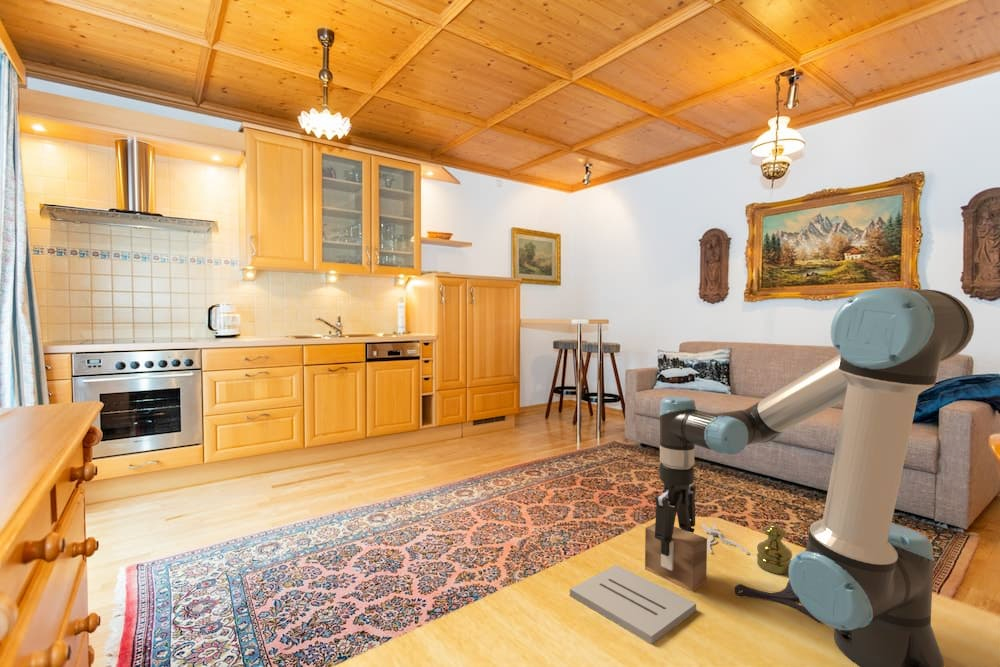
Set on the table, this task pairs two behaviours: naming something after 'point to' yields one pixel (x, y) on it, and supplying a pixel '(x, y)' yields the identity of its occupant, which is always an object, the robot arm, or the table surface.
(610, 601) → the board
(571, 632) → the table surface
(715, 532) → the pliers
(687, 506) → the robot arm
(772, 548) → the brass door knob
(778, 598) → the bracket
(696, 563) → the block
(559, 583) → the table surface
